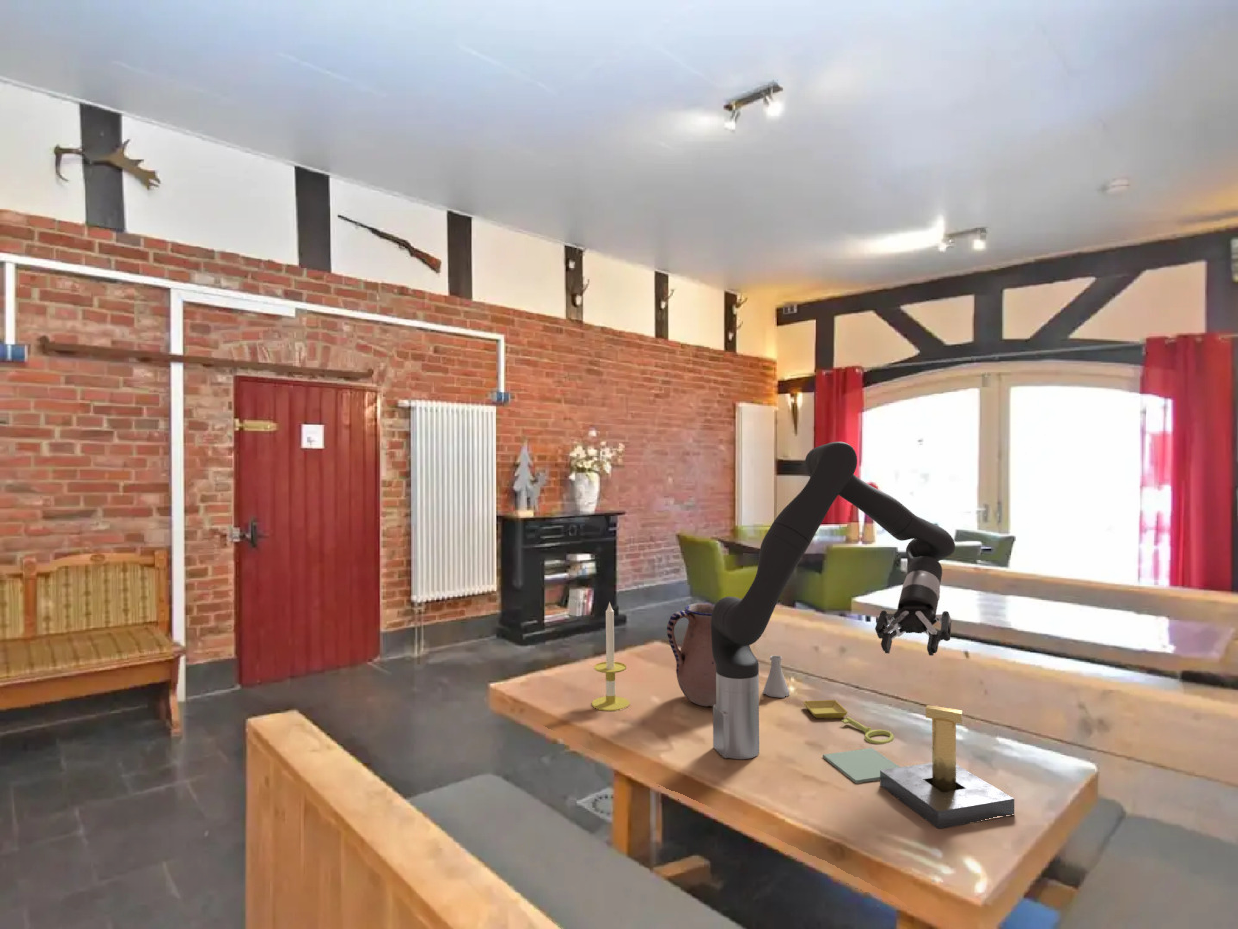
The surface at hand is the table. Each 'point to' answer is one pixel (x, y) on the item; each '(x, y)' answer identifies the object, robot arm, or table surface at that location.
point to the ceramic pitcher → (695, 654)
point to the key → (870, 732)
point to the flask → (776, 680)
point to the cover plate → (946, 796)
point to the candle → (610, 670)
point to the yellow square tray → (825, 709)
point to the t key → (944, 746)
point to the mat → (860, 764)
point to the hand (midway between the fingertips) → (907, 651)
